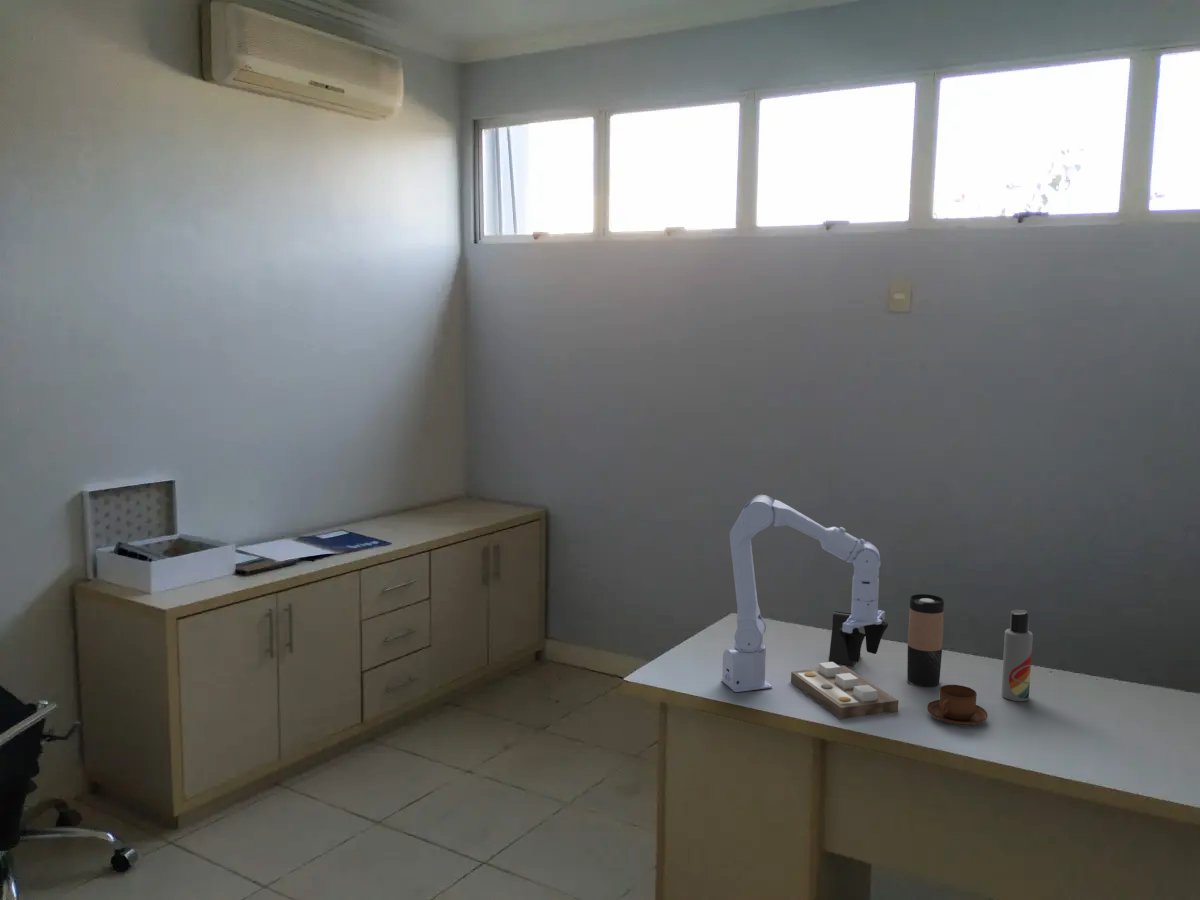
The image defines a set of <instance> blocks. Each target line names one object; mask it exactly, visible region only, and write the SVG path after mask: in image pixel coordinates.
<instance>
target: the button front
mask: <svg viewBox="0 0 1200 900" xmlns="http://www.w3.org/2000/svg"><path fill="white" fill-rule="evenodd" d="M853 696H854V697H855V698H857V699H858V700H860V701H861V702H868V701H875V700H877V690H875V689H874V688H872V687H871V686H869V685H862V686H854V692H853Z"/></svg>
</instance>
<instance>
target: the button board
mask: <svg viewBox="0 0 1200 900" xmlns="http://www.w3.org/2000/svg"><path fill="white" fill-rule="evenodd" d="M839 666H840V667H841V669H840V674H844V673H851V674H852V675H854V676H855V677H857V678H858V686H862V685H869V686H871V687H872V688H874V689H875V690H877V700H875V701H868V702H861V701H860V700H858V699H857V698H855V697H854V696H853V692H854V688H851V689H842V688H841V687H839V686H838V685H836V684H835V680H836V676H834V677H825V676H823V675H822V674H820V673H819V668H811V669H803V670H794V671H791V672H790V683H792V684H793V685H795V687H797V688H799V689H800V690H802V692H804V693H805V694H807V695H808V696H809V697H810V698H811V699H813V700H814V701H816V702H817V703H818V704H820V705H821V706H823V707H824V708H825V709H827V710H828V711H829V712H830V713H832V714H833V715H834V716H836V717H837V718H839V719H840V720H844V719H853V718H860V717H867V716H875V715H881V714H882V715H883V714H889V713H897V712H899V699H897V698H896V697H894V696H893V695H891V694H889V693H888V692H887V691H884V690H883V689H882V688H879V686H877V685H875V684H874V683H872V682H871V681H869V680H867V679H866V678H864V677H862V676H861V675H860V674H858V673H857V672H855V671H853V670H852V669H850V668H848V666H843V665H839Z"/></svg>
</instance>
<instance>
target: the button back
mask: <svg viewBox="0 0 1200 900" xmlns="http://www.w3.org/2000/svg"><path fill="white" fill-rule="evenodd" d="M840 666H841V665H837V664H835V663H834V662H829V661H827V662H819V663H818V669H819V673H820V674H822V675H823V676H825V677H834V676H836V674H840V669H841V667H840Z"/></svg>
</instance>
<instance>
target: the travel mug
mask: <svg viewBox="0 0 1200 900" xmlns="http://www.w3.org/2000/svg"><path fill="white" fill-rule="evenodd" d="M944 612H945V599H944V598H942V597H941V596H938V595H933V594H928V593H927V594H926V593H925V594H924V593H922V594H921V593H919V594H912V595H910V598H909V613H908V615H909V616H908V617H909V618H908V631H907V633H908V634H907V661H906V662H907V666H906V667H907V668H906V669H907V670H906V671H907V672H906V674H907V681H908V683H910V684H912V685H915V686H919V687H924V688H925V687H926V688H930V687H931V688H933V687H936V686H938V685H940V680H941V679H940V678H941V667H942V656H943V643H944V642H943V638H944V637H943V635H944Z"/></svg>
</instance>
